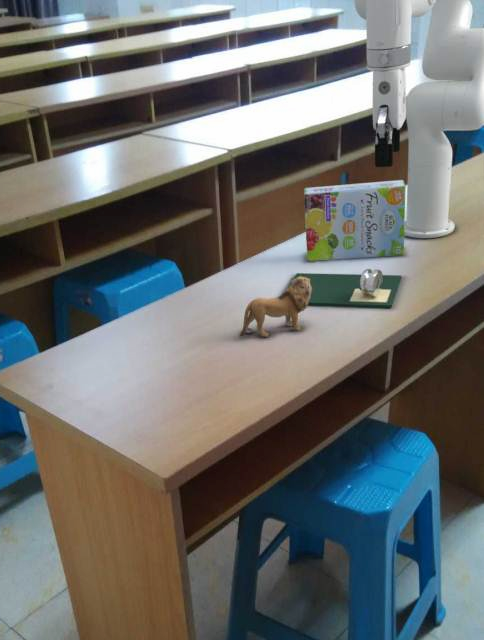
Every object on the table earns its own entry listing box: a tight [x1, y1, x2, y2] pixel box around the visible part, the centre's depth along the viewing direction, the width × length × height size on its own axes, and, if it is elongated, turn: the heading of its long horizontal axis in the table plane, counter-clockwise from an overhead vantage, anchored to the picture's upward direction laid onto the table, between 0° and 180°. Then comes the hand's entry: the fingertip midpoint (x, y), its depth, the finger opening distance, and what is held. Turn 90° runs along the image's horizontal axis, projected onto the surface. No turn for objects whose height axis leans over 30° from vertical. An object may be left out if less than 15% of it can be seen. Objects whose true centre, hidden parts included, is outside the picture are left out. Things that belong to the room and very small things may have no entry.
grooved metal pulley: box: [360, 268, 384, 297], centre depth 138 cm, size 5×3×5 cm, turn 150°
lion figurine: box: [238, 277, 312, 338], centre depth 129 cm, size 15×5×9 cm, turn 110°
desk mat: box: [286, 272, 402, 309], centre depth 144 cm, size 15×22×1 cm
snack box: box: [303, 179, 407, 262], centre depth 156 cm, size 21×6×15 cm, turn 84°
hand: (387, 158), depth 135 cm, fingers open, 9 cm apart
